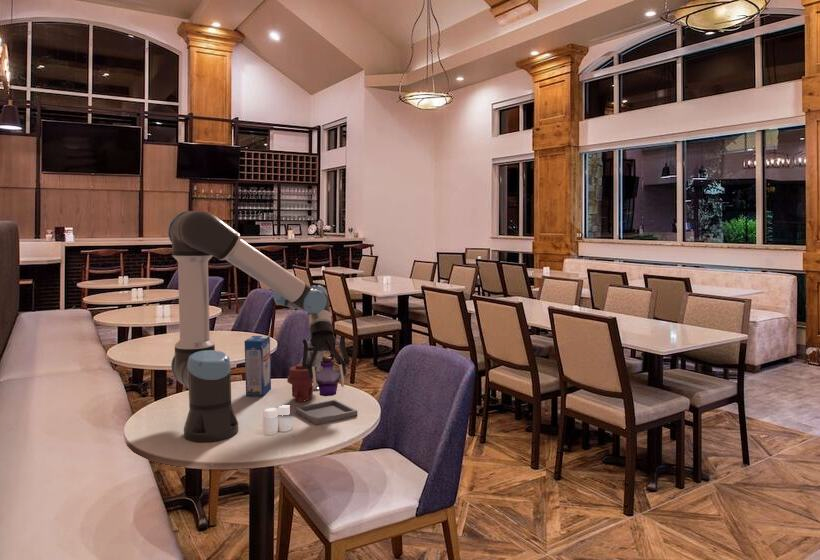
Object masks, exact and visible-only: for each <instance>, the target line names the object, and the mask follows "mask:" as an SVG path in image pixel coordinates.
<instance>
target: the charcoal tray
mask: <svg viewBox="0 0 820 560" xmlns="http://www.w3.org/2000/svg"><path fill="white" fill-rule="evenodd" d="M294 408H295V409H294V414H296V413H297V414H296V415H298V416H299V417H302V418H303V419H305V420H306V421H308V422H309V423H312V424H313V425H315V426H319V425H324V424H329V423H333V422H336V421H337V422H338V421H342V420H346V419H345V418H347V419H350V417H351V418H355V417H358V410H357V409H355V408H353V407H351V406H349V405H347V404H345V403H344V402H341V401H339V400H336V399H331V400H330V399H329V400H326V401H322V402H317V403H316V402H315V403H310V404H306V405H301V406H297V407H294Z"/></svg>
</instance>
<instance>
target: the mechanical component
mask: <svg viewBox="0 0 820 560" xmlns="http://www.w3.org/2000/svg"><path fill="white" fill-rule="evenodd" d="M286 379H287V383H288V384H289V385H291V394H292V395H291V396H292V398H294V399H295V398H296V399H295V400H297V399H298V400H297V401H298V403H304V402H305V401H308V400H311V399H313V397H312V396H313V395H314V394H313V393H314V391H313V387H312V386H313V380H312V379H309V375H308V370H307V369H302V363H298V364H296V365H293V366H291V367H290V368H289V375H288V377H287V378H286ZM310 398H311V399H310ZM307 399H308V400H307ZM304 400H305V401H304ZM303 401H304V402H303Z"/></svg>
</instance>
